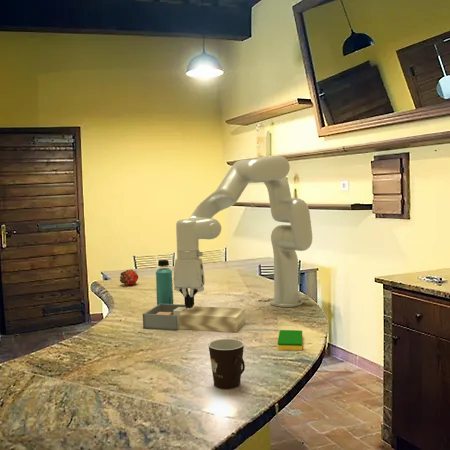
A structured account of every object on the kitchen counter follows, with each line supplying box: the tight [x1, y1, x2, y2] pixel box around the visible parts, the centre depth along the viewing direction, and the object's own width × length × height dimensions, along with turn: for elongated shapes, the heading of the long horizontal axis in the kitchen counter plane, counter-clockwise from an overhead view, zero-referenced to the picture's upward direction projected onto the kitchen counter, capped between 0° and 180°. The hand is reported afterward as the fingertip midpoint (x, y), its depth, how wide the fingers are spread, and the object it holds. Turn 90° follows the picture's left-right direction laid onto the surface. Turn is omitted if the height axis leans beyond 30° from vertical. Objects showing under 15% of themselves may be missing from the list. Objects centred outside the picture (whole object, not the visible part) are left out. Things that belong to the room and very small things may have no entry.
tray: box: [142, 303, 186, 331], centre depth 182 cm, size 12×15×5 cm
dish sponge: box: [277, 329, 303, 351], centre depth 158 cm, size 7×14×2 cm, turn 171°
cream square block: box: [173, 307, 187, 325], centre depth 181 cm, size 5×5×3 cm
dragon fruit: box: [119, 268, 139, 287], centre depth 253 cm, size 8×8×12 cm
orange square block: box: [157, 312, 172, 315], centre depth 182 cm, size 5×5×3 cm
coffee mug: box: [208, 338, 246, 390], centre depth 125 cm, size 12×9×10 cm
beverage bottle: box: [155, 259, 175, 306], centre depth 199 cm, size 6×7×20 cm
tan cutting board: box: [178, 305, 246, 333], centre depth 178 cm, size 20×12×5 cm, turn 74°
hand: (189, 307), depth 180 cm, fingers closed
